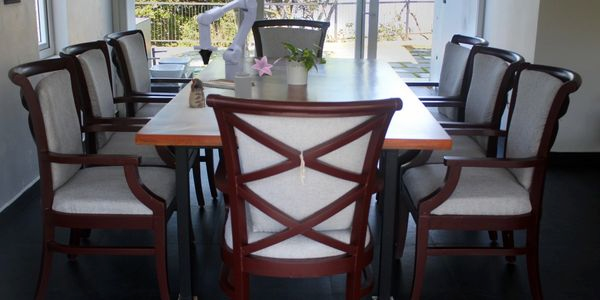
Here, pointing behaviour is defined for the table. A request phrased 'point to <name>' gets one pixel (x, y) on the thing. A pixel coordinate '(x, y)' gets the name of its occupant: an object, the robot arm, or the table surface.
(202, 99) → the figurine
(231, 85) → the plank
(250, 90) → the can
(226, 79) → the laid plank
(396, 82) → the table surface
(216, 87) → the underlay mat
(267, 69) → the lily
